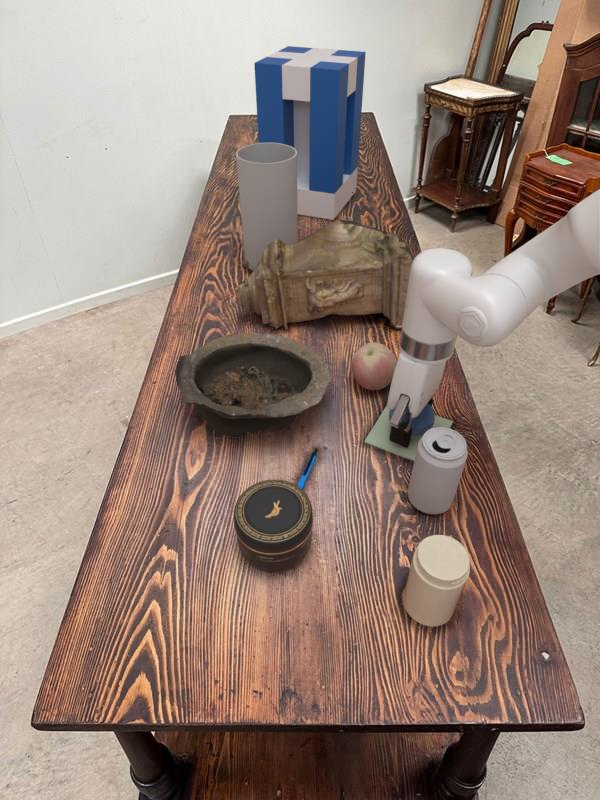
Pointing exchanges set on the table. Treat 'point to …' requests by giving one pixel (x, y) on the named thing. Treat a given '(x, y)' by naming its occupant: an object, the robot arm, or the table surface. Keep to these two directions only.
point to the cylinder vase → (267, 197)
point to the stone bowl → (251, 382)
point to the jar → (273, 525)
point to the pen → (307, 469)
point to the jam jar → (436, 580)
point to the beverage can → (437, 470)
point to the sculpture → (330, 276)
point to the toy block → (314, 120)
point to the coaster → (381, 440)
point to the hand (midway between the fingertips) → (409, 428)
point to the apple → (373, 366)
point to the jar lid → (419, 420)
